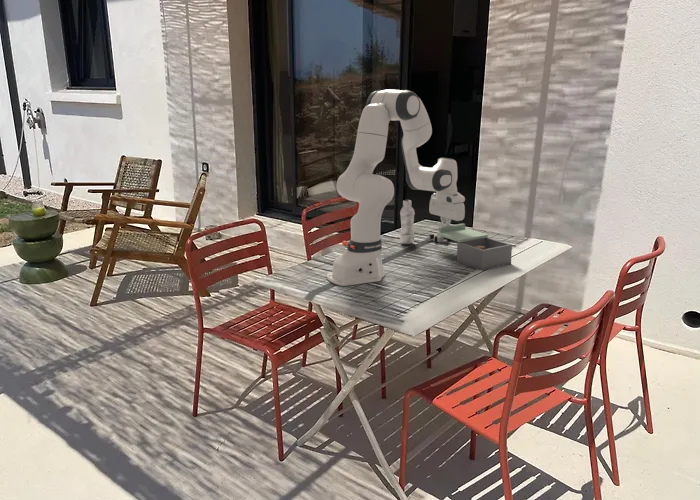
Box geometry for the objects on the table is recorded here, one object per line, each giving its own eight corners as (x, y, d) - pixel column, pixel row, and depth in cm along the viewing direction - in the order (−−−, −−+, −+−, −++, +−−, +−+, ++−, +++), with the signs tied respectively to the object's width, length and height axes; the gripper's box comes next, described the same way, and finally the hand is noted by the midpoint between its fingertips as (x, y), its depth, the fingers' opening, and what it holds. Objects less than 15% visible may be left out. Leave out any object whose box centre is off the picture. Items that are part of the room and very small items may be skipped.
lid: (459, 242, 224) (459, 235, 223) (436, 234, 237) (436, 227, 236) (488, 236, 231) (488, 229, 230) (464, 229, 244) (464, 223, 243)
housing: (481, 270, 215) (482, 250, 213) (456, 261, 228) (457, 242, 225) (511, 264, 222) (512, 244, 219) (485, 255, 234) (485, 236, 232)
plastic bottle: (397, 242, 257) (397, 200, 252) (411, 241, 259) (411, 198, 254) (403, 246, 251) (402, 202, 246) (416, 244, 253) (417, 201, 248)
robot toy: (446, 247, 251) (465, 238, 261) (446, 238, 249) (465, 229, 259) (424, 243, 259) (443, 234, 269) (424, 233, 258) (443, 225, 268)
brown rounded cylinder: (479, 263, 220) (479, 249, 219) (472, 261, 224) (472, 246, 222) (486, 262, 222) (487, 247, 220) (480, 259, 225) (480, 245, 224)
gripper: (425, 193, 246) (425, 223, 250) (455, 200, 229) (455, 232, 233) (437, 191, 249) (436, 221, 253) (467, 198, 232) (466, 230, 236)
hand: (445, 227), depth 243 cm, fingers closed
